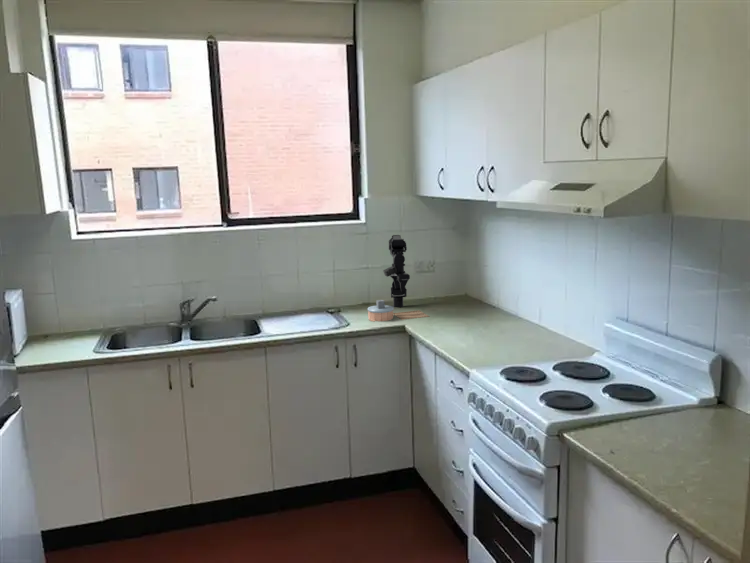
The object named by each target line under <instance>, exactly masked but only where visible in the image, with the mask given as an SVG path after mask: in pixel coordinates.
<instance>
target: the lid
mask: <svg viewBox="0 0 750 563" xmlns="http://www.w3.org/2000/svg"><path fill="white" fill-rule="evenodd" d="M375 304H376V305H371V306H368V307H367V312H368V311H369V312H373V313H386V312H391V311H393V312H394V310H395V307H393V305H387V304H385V300H384V299H376V300H375Z"/></svg>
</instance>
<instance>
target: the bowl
mask: <svg viewBox="0 0 750 563" xmlns="http://www.w3.org/2000/svg"><path fill="white" fill-rule="evenodd" d="M393 313H394V310H393V311H391V312H386V313H373V312H369V311H368V310H367V314H368V315H367V318H368V321H370V322H388V321H391V320H393V319H394V314H393Z"/></svg>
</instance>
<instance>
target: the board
mask: <svg viewBox="0 0 750 563" xmlns="http://www.w3.org/2000/svg"><path fill="white" fill-rule="evenodd" d="M393 316H395V317H397V318H398V319H399V320H401V321H403V320H413V319H421V318H429V317H430V315H428V314H426V313H425V312H423V311H421V310H417V309H416V310H410V311H400V312H393Z"/></svg>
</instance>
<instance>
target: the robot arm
mask: <svg viewBox="0 0 750 563" xmlns="http://www.w3.org/2000/svg"><path fill="white" fill-rule="evenodd" d="M388 250H389V253H390V255H391V257H392V264H391V266H390V267H387V268H385V269H383V270H382V272H383V274H384V276H385V277H386V278H387V277H390V278H391V279H392V283H391V287H390V298H391V299H393V305H392V306H393V307H394V308H403V307H404V298H406V297H407V290H408V289H407V288H406V286H407V283H408V282H409V280H410V279H411V276H410V274H409V273H407V272H406V270H405V267H406V264H405V261H406V258H405V254H404V253H406V252H407V250H408V248H407V242H406V240H404V238H402V237H401V234H393V235H391V238H390V239H389V240H388Z"/></svg>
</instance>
